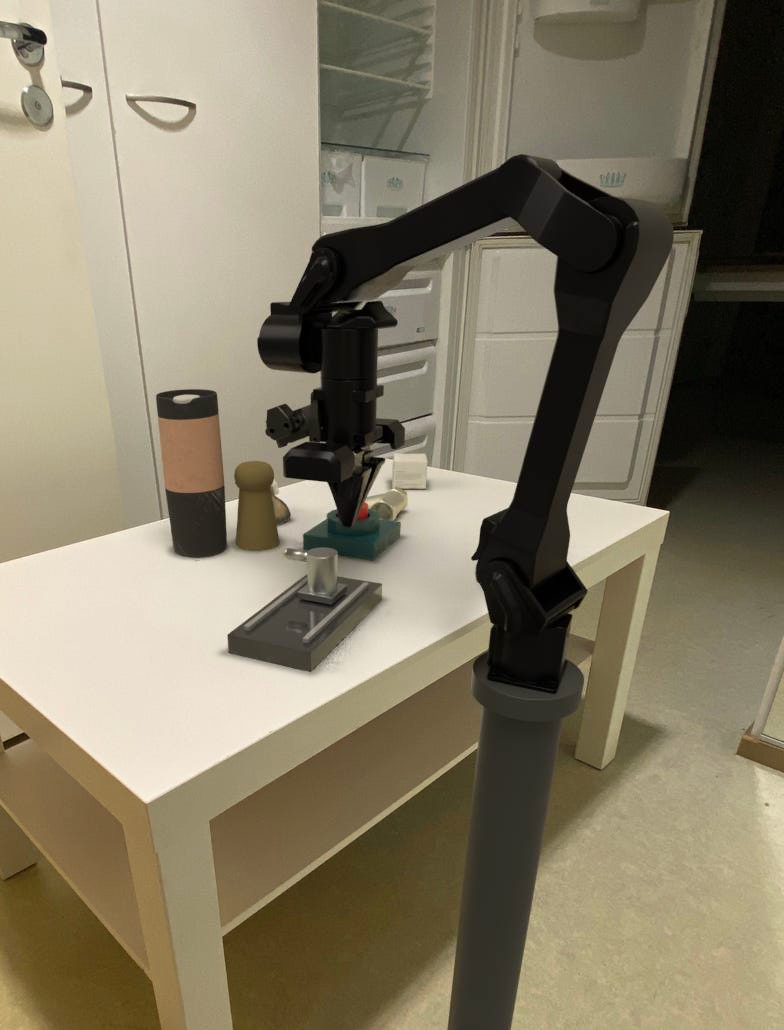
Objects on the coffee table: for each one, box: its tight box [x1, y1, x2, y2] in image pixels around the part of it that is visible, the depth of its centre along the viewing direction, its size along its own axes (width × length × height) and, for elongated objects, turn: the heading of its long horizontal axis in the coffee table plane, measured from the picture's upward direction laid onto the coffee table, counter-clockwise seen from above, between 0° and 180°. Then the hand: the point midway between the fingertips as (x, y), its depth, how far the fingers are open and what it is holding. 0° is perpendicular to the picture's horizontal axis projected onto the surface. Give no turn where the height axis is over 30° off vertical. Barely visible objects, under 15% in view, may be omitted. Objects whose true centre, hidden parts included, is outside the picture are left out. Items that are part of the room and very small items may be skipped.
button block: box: [302, 508, 402, 561], centre depth 98 cm, size 10×10×4 cm
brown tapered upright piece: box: [233, 460, 281, 551], centre depth 97 cm, size 6×6×11 cm
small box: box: [391, 453, 429, 490], centre depth 123 cm, size 6×6×5 cm
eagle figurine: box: [234, 479, 292, 526], centre depth 109 cm, size 8×7×9 cm
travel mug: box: [155, 388, 228, 558], centre depth 93 cm, size 8×8×20 cm
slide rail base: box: [226, 573, 383, 672], centre depth 76 cm, size 9×18×2 cm, turn 153°
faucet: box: [282, 547, 347, 605], centre depth 77 cm, size 7×4×5 cm, turn 63°
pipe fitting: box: [365, 486, 409, 521], centre depth 108 cm, size 8×4×7 cm
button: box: [338, 502, 368, 520], centre depth 96 cm, size 4×4×2 cm
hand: (348, 526), depth 80 cm, fingers closed
